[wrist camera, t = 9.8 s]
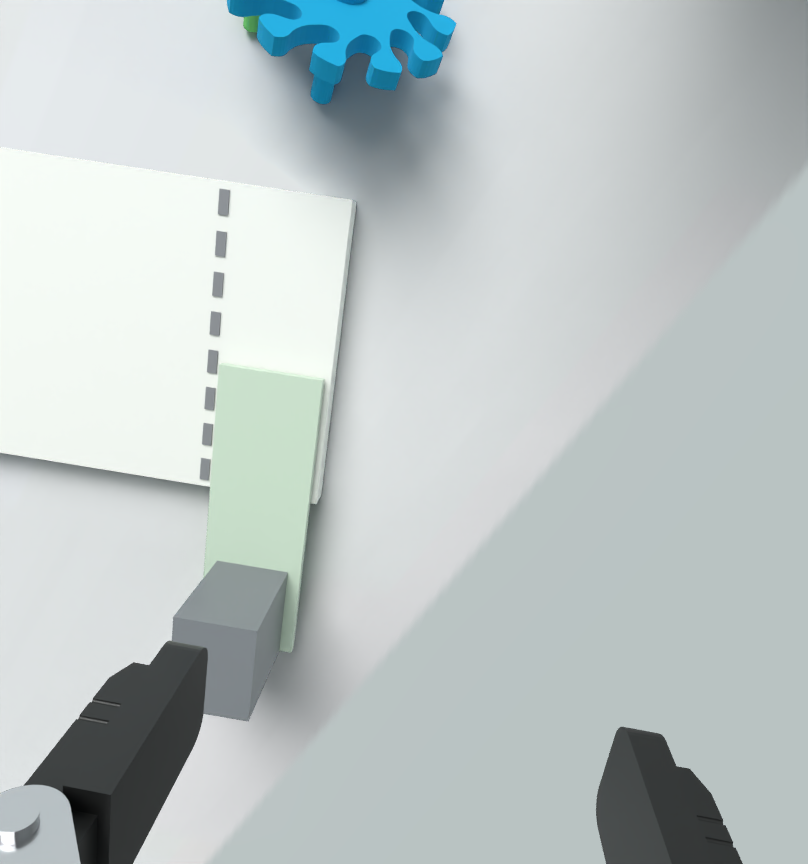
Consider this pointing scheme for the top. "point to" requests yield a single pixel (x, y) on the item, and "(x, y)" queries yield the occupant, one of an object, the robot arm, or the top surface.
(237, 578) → the stub
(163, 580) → the top surface
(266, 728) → the top surface
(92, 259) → the ticket board
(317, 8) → the gear
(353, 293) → the top surface
